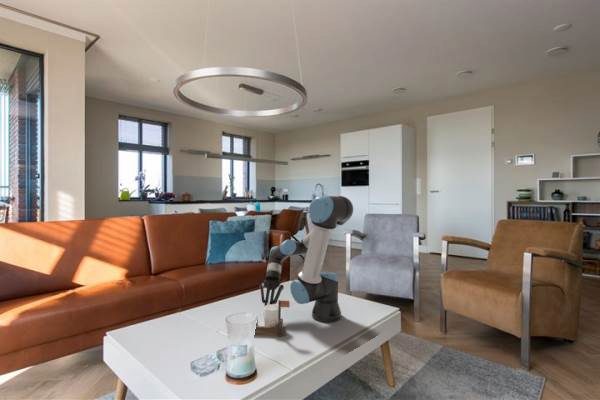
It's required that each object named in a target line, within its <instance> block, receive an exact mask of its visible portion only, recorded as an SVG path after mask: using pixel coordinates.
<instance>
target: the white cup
mask: <svg viewBox="0 0 600 400" xmlns="http://www.w3.org/2000/svg"><path fill="white" fill-rule="evenodd" d="M264 306H265V305H264ZM264 306H263V311H264V312H263V319H264V320H263V322H264V326H271V327H278V304H270V305H266V306H265V307H264Z"/></svg>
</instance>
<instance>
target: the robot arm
mask: <svg viewBox="0 0 600 400" xmlns="http://www.w3.org/2000/svg"><path fill="white" fill-rule="evenodd" d="M353 213H354V206H353V203H352V201H351V199H349V198H348V197H345V196H343V195H322V196H316V197H315V198H313V200H312V201H311V202H310V204H309V206H308V215H309V219H310V221H311V224H312V229H311V230H310V231H309V232H308V233H307V234H306V235H305V236H304V237H303V238H301V240H297V241H293V240H292V239H286V240H284V241H282V243H281V244H280V245H278V246H276V245H275V246H272V247H271V248H270V251H269V255H268V262H267V267H266V273H265V279H264V281H263V283H261V282H260V283H258V284H259V285H258V287H259V289H260V295H261V302H262V304H264V306H263V308H264V307H265V306H266V305H270V304H274V305H277V304H278V301H279V298H280V296H281V293H282V291H283V290H284V288H285V286H284V285H283V284H281V281H280V280H281V274H282V266H283V262H284V261H285V260H287V259H288V258H289V257H295V256H299V255H301V256H302V255H305V260H304V263H303V267H302V270H300V271H299V272H298V274H297V278H296V279H294V280H292V281H291V283H290V287H289V289H290V294H291V296H292V298H293V300H294V301H295V302H296V303H298V304H299V305H303V304H309V303H311V302H312V303H313V302H315V303H314V304H313V307H312V310H311V317H312V319H314V320H315V321H318V322H323V323H333V322H332V321H334V322H337V320H338V321H340V320H341V319H342V312H341V306H340V304H339V276H338V274H337V273H335V272H332V271H327V270H322V267H323V263H324V260H325V256H326V253H327V249H328V245H329V242H330V238H331V234H332V232H333V231H334V230H335V229H337V228H338V227H339V226H343V225H345V224H346V223H347V222H348V221H349V220H350V219H351V218H352V217H353V216H352V215H353ZM264 288H266V293H265V291H264ZM276 290H277V292H275V291H276ZM275 293H276V294H275ZM269 299H270V300H269ZM340 318H341V319H340Z"/></svg>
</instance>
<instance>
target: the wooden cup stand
mask: <svg viewBox="0 0 600 400" xmlns="http://www.w3.org/2000/svg"><path fill="white" fill-rule="evenodd" d="M277 305H278V327H271V326H265V325H264V326H263V325H259V318H258V319H257V323H256V329H255V335H254V336H276V337H277V336H278V338H280V337H285V336H286V326H284V318H282V317H281V314H282V313H281V311H282V308H290V300H281V299H278V301H277Z"/></svg>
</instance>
